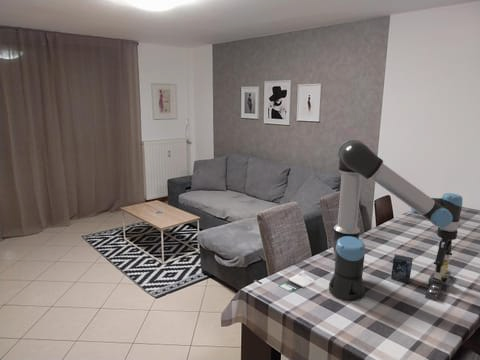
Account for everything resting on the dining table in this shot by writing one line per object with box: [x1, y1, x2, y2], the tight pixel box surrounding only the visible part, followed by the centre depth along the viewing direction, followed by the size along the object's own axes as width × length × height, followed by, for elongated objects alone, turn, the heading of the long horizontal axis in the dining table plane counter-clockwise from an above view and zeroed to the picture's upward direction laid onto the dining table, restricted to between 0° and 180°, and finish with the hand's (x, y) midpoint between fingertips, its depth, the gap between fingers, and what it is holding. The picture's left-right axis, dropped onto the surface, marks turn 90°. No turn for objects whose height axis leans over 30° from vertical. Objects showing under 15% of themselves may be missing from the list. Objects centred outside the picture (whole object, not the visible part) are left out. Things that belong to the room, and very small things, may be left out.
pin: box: [436, 260, 450, 282], centre depth 157 cm, size 4×4×12 cm
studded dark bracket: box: [424, 269, 452, 302], centre depth 157 cm, size 29×7×4 cm, turn 139°
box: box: [390, 253, 414, 284], centre depth 163 cm, size 8×6×11 cm
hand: (440, 273), depth 157 cm, fingers open, 13 cm apart
